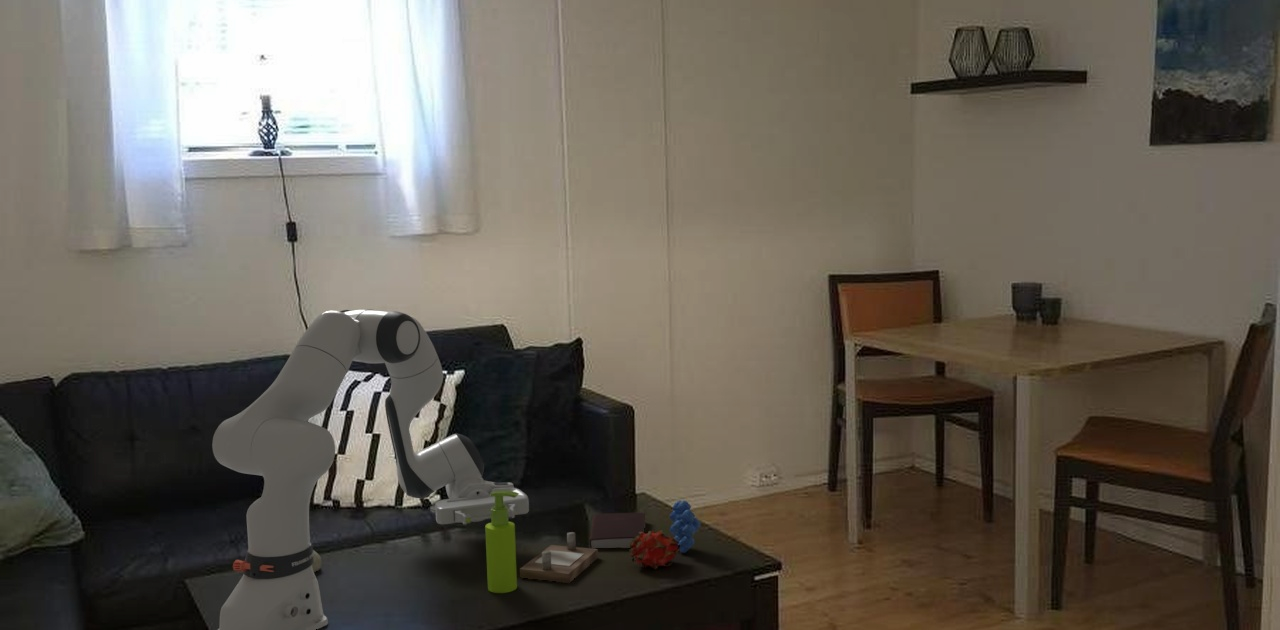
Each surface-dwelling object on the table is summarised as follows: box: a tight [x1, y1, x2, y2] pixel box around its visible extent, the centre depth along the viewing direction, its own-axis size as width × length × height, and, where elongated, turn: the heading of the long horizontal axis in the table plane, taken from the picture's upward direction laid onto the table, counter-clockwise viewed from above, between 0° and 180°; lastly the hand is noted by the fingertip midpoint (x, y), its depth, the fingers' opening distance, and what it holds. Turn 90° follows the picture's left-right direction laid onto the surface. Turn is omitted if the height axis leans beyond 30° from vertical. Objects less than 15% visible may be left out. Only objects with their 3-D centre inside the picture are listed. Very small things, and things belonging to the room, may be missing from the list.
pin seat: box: [519, 531, 599, 584], centre depth 238 cm, size 16×11×6 cm
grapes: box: [669, 500, 702, 554], centre depth 246 cm, size 12×7×12 cm, turn 17°
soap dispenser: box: [484, 491, 519, 594], centre depth 226 cm, size 6×7×20 cm
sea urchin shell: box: [312, 549, 323, 573], centre depth 240 cm, size 9×8×8 cm
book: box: [588, 512, 646, 549], centre depth 259 cm, size 12×19×3 cm, turn 179°
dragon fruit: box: [628, 529, 680, 570], centre depth 238 cm, size 8×8×12 cm
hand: (489, 517), depth 237 cm, fingers open, 8 cm apart
